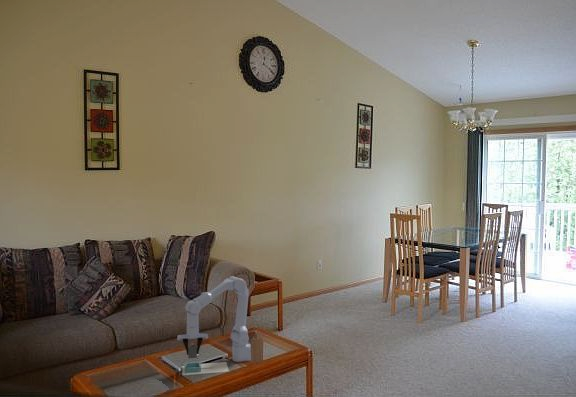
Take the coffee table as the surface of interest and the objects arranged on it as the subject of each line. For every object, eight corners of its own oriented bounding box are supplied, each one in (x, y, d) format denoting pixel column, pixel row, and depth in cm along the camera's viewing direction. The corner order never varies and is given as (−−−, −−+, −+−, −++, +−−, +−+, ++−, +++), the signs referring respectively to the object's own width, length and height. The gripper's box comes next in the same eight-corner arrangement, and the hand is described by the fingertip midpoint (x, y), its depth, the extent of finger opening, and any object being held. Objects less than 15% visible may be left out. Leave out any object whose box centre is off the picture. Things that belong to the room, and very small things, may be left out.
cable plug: (197, 355, 231) (196, 342, 231) (196, 357, 227) (196, 344, 227) (188, 355, 230) (188, 342, 230) (188, 358, 226) (188, 345, 226)
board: (226, 363, 239) (226, 358, 239) (228, 373, 226) (228, 367, 226) (182, 367, 234) (182, 361, 234) (182, 377, 221) (182, 370, 221)
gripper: (207, 322, 234) (207, 350, 234) (177, 324, 231) (177, 352, 231) (208, 326, 227) (208, 354, 227) (177, 328, 224) (177, 356, 224)
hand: (192, 353), depth 229 cm, fingers closed on cable plug, 4 cm apart
